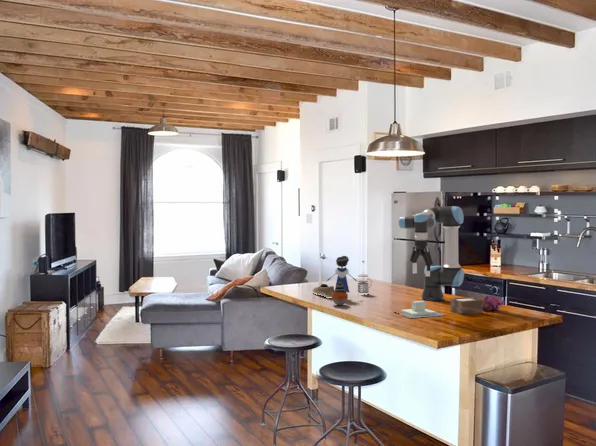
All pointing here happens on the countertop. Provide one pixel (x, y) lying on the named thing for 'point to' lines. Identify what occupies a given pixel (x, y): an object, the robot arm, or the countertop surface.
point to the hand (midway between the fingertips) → (421, 274)
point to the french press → (365, 285)
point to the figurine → (342, 272)
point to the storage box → (466, 305)
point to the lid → (418, 309)
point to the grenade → (339, 294)
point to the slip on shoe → (324, 290)
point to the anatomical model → (491, 303)
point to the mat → (424, 315)
